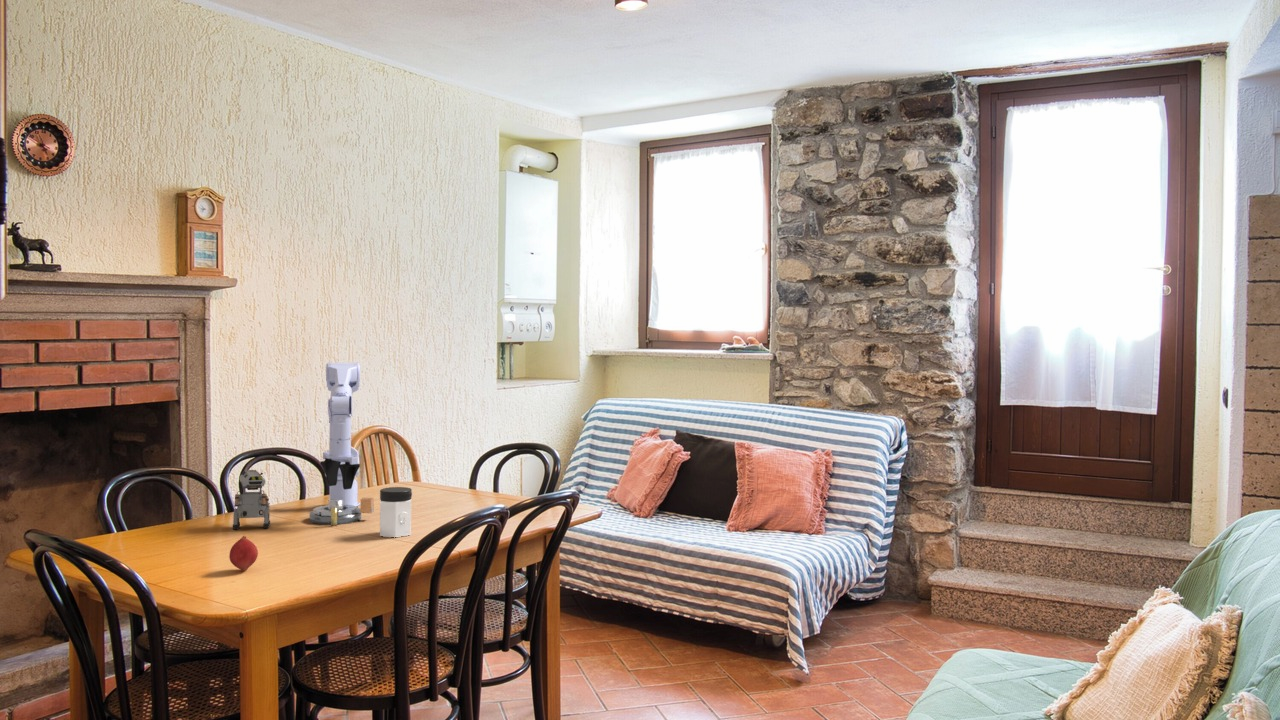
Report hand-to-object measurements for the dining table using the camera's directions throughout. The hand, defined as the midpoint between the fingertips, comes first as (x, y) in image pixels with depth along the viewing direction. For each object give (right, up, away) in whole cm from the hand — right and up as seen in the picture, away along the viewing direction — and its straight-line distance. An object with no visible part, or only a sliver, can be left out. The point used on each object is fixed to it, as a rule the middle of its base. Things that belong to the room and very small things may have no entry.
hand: (339, 487), depth 255 cm
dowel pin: (0, -10, -5) cm, 11 cm away
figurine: (-22, -10, -7) cm, 25 cm away
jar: (+19, -11, -13) cm, 26 cm away
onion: (-4, -12, -52) cm, 54 cm away
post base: (-3, -10, +4) cm, 11 cm away
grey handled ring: (0, -8, +4) cm, 8 cm away
